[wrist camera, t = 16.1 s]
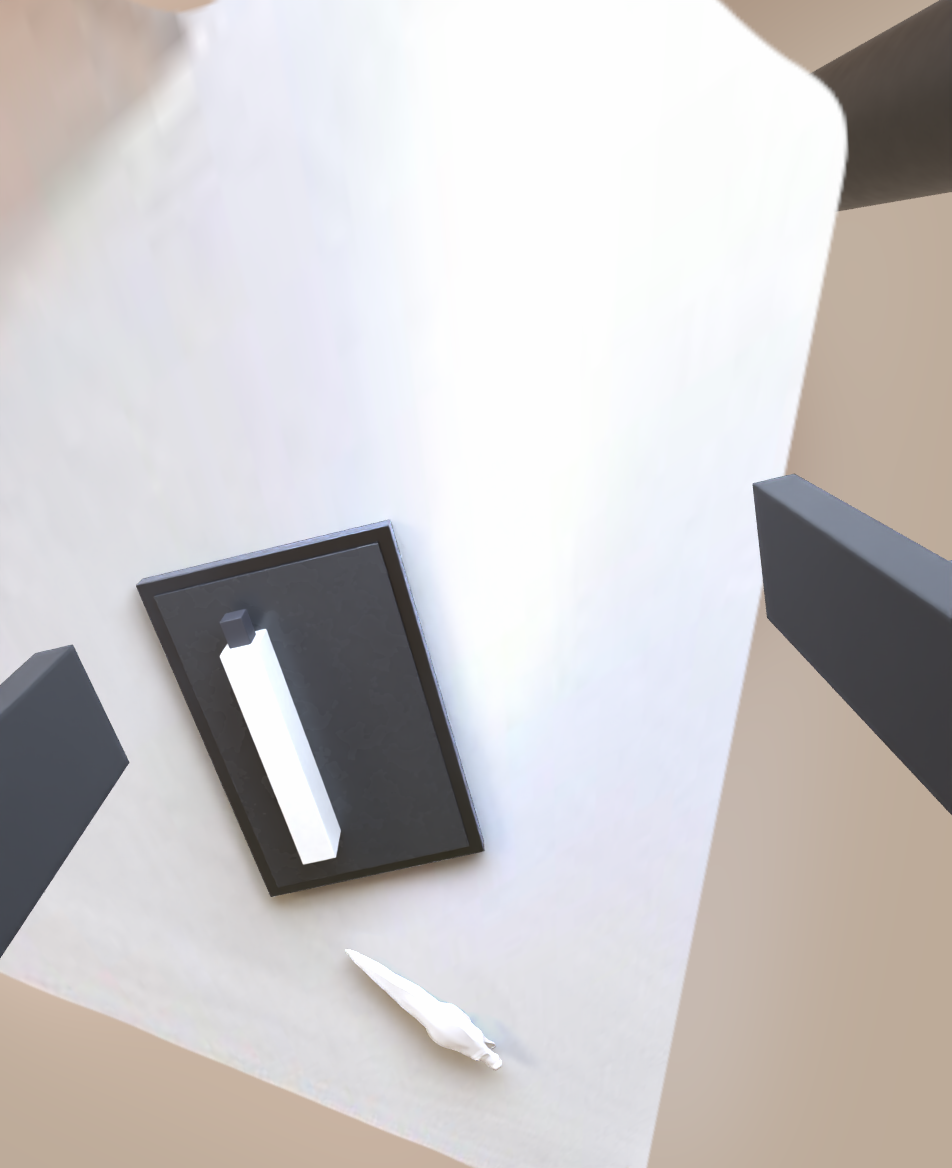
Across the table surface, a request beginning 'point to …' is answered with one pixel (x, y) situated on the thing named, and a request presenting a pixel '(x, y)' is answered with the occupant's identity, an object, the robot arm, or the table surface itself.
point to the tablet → (325, 701)
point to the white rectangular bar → (279, 737)
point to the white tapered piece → (432, 1013)
